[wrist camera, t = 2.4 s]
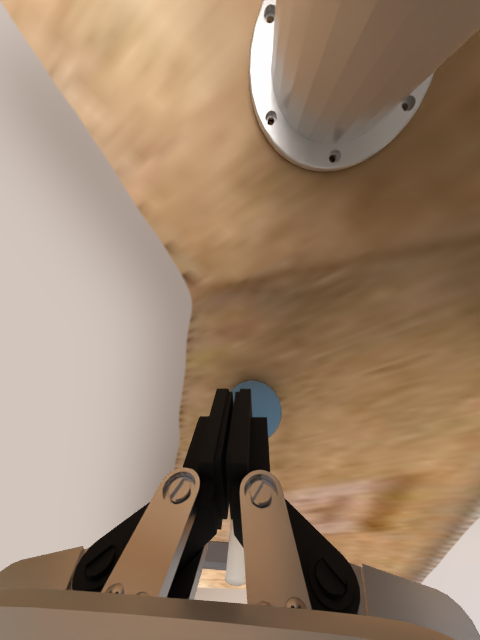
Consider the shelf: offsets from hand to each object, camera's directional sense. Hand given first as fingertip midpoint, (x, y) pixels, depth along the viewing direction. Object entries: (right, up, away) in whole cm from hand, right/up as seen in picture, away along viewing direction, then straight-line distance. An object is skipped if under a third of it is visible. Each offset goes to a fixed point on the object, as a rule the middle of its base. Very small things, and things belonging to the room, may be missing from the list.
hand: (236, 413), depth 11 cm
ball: (+1, -5, +13) cm, 14 cm away
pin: (0, -22, +22) cm, 31 cm away
